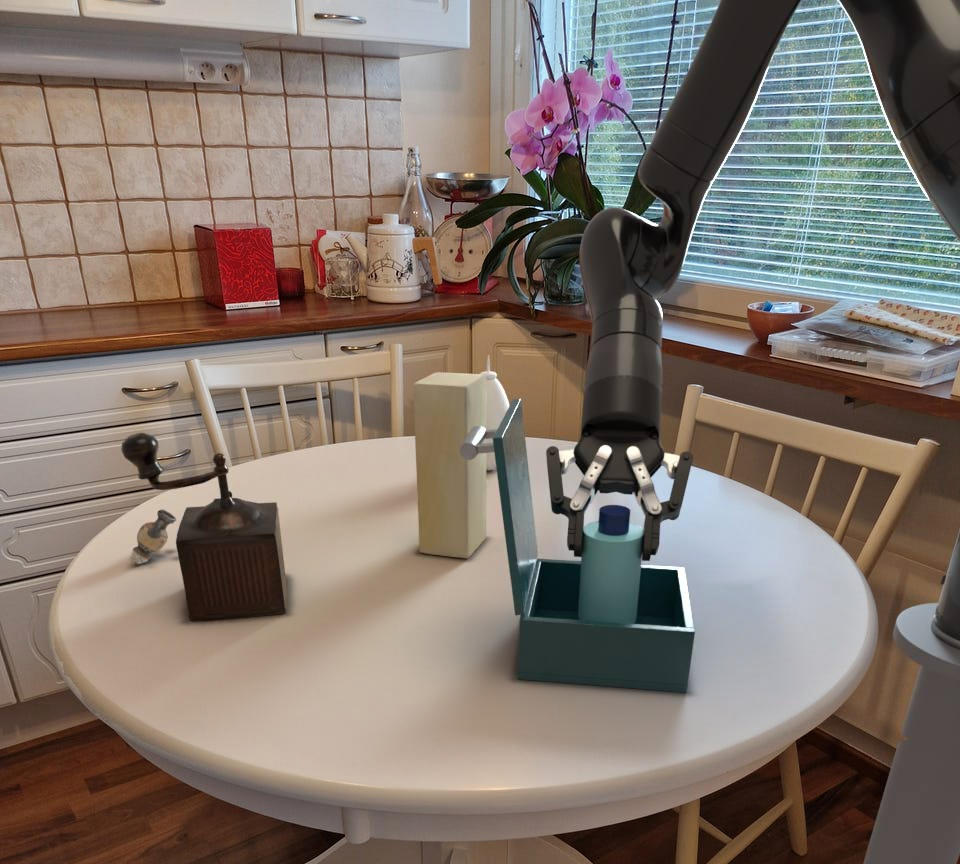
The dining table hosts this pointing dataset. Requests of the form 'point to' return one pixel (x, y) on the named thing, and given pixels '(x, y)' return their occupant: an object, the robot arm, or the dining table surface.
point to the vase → (152, 537)
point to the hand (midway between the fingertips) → (612, 555)
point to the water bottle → (610, 567)
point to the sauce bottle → (493, 408)
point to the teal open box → (607, 632)
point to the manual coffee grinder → (221, 544)
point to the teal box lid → (511, 495)
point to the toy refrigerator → (449, 463)
